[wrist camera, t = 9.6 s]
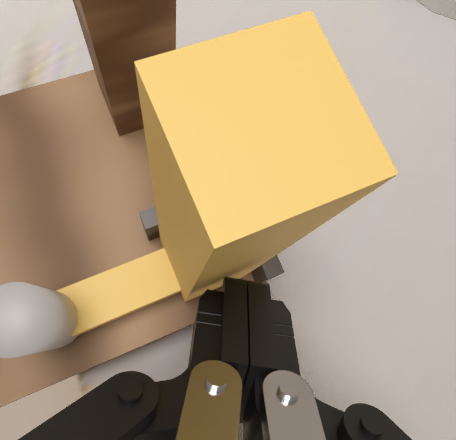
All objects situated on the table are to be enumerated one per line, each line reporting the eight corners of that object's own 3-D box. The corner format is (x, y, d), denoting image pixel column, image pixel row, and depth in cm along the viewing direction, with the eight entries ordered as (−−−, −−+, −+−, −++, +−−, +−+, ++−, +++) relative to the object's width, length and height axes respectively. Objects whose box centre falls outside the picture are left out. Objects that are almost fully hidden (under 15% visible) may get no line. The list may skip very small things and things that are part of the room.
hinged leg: (39, 365, 17) (-412, 503, 4) (17, 299, 18) (-444, 227, 5) (243, 276, 20) (398, 173, 6) (218, 220, 20) (311, 10, 7)
